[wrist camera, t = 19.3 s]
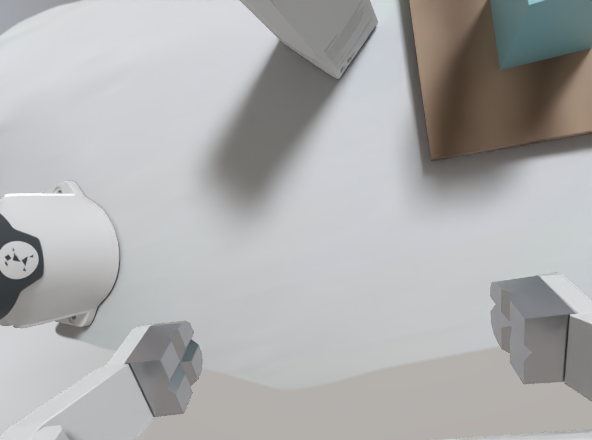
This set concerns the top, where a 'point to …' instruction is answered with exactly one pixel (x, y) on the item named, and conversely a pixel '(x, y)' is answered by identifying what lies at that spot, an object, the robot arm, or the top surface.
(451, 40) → the base
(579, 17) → the teal pencil cup
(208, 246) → the top surface
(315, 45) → the skincare box
